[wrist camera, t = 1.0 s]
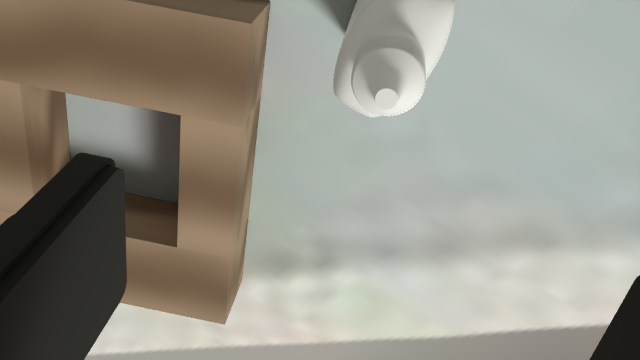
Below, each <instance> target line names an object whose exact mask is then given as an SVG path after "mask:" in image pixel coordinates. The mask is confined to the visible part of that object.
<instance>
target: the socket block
mask: <svg viewBox="0 0 640 360" xmlns="http://www.w3.org/2000/svg"><path fill="white" fill-rule="evenodd" d="M269 10H270V2H269V1H263V0H0V225H1V224H2V223H3V222H4V221H5V220H6V219H8V218H9V217H11V216H12V215H13V214H15V213H16V212H17V211H18V210H19V209H21V208H22V207H23V206H24V205H25V204H26V203H27V202H28V201H29V200H30V199H31V198H32V197H33V196H34V195H35V194H36V193H37V192H38V191H39V190H40V189H41V188H42V187H43V186H45V185H46V184H47V183H48V182H49V181H50V180H51V179H52V178H53V177H54V176H55V175H56V174H57V173H58V172H59V171H60V170H61V169H62V168H63V167H64V166H65V165H66V164H67V163H69V162H70V161H71V160H70V148H69V136H68V124H67V112H66V100H65V93H69V94H74V95H79V96H84V97H89V98H94V99H100V100H105V101H110V102H115V103H120V104H125V105H130V106H135V107H140V108H146V109H151V110H156V111H161V112H166V113H171V114H176V115H181V124H180V161H179V198H178V204H177V203H172V202H167V201H162V200H157V199H152V198H147V197H142V196H137V195H132V194H127V193H125V227H126V262H127V284H126V289H125V293H124V295H123V297H122V299H121V301H120V303H124V304H129V305H134V306H139V307H144V308H148V309H153V310H158V311H163V312H167V313H172V314H177V315H182V316H187V317H191V318H196V319H201V320H206V321H210V322H215V323H220V324H225V323H226V320H227V318H228V315H229V312H230V310H231V307H232V305H233V302H234V299H235V297H236V294H237V292H238V289H239V286H240V284H241V281H242V273H243V263H244V254H245V244H246V234H247V224H248V215H249V205H250V195H251V185H252V176H253V166H254V156H255V146H256V137H257V127H258V117H259V108H260V98H261V88H262V78H263V69H264V59H265V49H266V39H267V30H268V20H269Z"/></svg>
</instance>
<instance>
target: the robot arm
mask: <svg viewBox="0 0 640 360" xmlns="http://www.w3.org/2000/svg"><path fill="white" fill-rule="evenodd" d="M126 284H127V262H126V227H125V193H124V173H123V170H122V169H120V168H116V166H115V163H114V160H112V159H111V158H106V157H101V156H96V155H91V154H86V153H79V154H77V155H76V156H75V157H74V158H73V159H72V160H71V161H70V162H69V163H67V164H66V165H65V166H64V167H63V168H62V169H61V170H60V171H59V172H58V173H57V174H56V175H55V176H54V177H53V178H52V179H51V180H50V181H49V182H48V183H47V184H46V185H45V186H43V187H42V188H41V189H40V190H39V191H38V192H37V193H36V194H35V195H34V196H33V197H32V198H31V199H30V200H29V201H28V202H27V203H26V204H25V205H24V206H23V207H22V208H21V209H19V210H18V211H17V212H16V213H15V214H13V215H12V216H11V217H9V218H8V219H6V220H5V221H4V222H3V223H2V224H1V225H0V360H84V359H85V357H86V356H87V354H88V352H89V351H90V349H91V348H92V346H93V344H94V343H95V341H96V340H97V338H98V336H99V335H100V333H101V332H102V330H103V328H104V327H105V325H106V324H107V322H108V320H109V319H110V317H111V315H112V314H113V312H114V311H115V309H116V307H117V306H118V304H119V303H120V301H121V299H122V297H123V295H124V293H125V289H126ZM590 360H640V275H639V276H638V277H637V278H636V279H635V281H634V283H633V284H632V286H631V288H630V290H629V291H628V293H627V295H626V297H625V298H624V300H623V302H622V304H621V305H620V307H619V309H618V311H617V312H616V314H615V316H614V318H613V319H612V321H611V323H610V325H609V326H608V328H607V330H606V332H605V334H604V335H603V337H602V339H601V341H600V342H599V344H598V346H597V348H596V350H595V351H594V353H593V355H592V357H591V358H590Z"/></svg>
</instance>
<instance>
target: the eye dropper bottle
mask: <svg viewBox="0 0 640 360" xmlns="http://www.w3.org/2000/svg"><path fill="white" fill-rule="evenodd" d="M454 10H455V2H454V0H357V2H356V4H355V7H354V10H353V12H352V15H351V18H350V21H349V24H348V27H347V30H346V33H345V36H344V39H343V42H342V45H341V48H340V51H339V55H338V58H337V62H336V67H335V73H334V85H333V88H334V92H335V95H336V96H337V97H338V99H339V100H340V101H341V102H343V103H344V104H346V105H347V106H349V107H350V108H352V109H354V110H355V111H357V112H359V113H361V114H363V115H365V116H368V117H377V116H381V115H382V116H392V115H393V116H395V115H399V114H402V113H403V112H406V111H409V109H412V107H413V106H415V104H417V103H418V101H419V100H420V98H421V97H422V94H424V90H425V87H426V79H427V78H428V76H429V75H430V74H431V72H432V71H433V69H434V67H435V66H436V64H437V62H438V61H439V59H440V56H441V54H442V52H443V50H444V48H445V45H446V42H447V40H448V37H449V34H450V30H451V27H452V22H453V18H454Z"/></svg>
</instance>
